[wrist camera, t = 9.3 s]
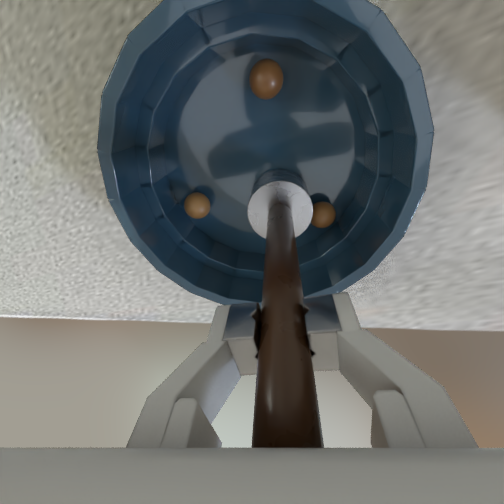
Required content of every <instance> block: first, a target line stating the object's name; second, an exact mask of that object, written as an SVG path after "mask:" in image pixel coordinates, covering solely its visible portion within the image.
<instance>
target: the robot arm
mask: <svg viewBox="0 0 504 504" xmlns="http://www.w3.org/2000/svg"><path fill="white" fill-rule="evenodd" d="M302 299H303V307H304V314H305V322H306V329H307V337H308V344H309V349H311V356H312V363H313V371H331V370H340V372H341V374H342V375H343V376H344V377H345V378H346V379H347V380H348V382H349V383H350V384H351V385H352V386H353V387H354V389H355V390H356V391H357V392H358V393H359V395H360V396H361V397H362V398H363V399H364V400H365V402H366V403H367V404H368V405H369V406H370V407H371V409H372V427H371V445H372V448H221V445H222V442H221V441H220V439H219V437H218V436H217V434H216V432H215V431H214V429H213V427H212V426H211V423H212V421H213V420H214V419H215V417H216V415H217V414H218V412H219V411H220V409H221V408H222V406H223V405H224V403H225V401H226V400H227V398H228V397H229V395H230V394H231V392H232V390H233V389H234V387H235V386H236V384H237V382H238V381H239V380H240V378H241V376H242V375H253V374H257V363H258V348H259V335H260V320H261V308H260V305H259V303H258V302H254V303H242V304H231V305H221V306H218V307H217V308H216V310H215V314H214V317H213V321H212V324H211V328H210V332H209V335H208V338H207V342H203V343H201V345H199V346H198V347H197V348H196V349H195V351H194V352H193V353H192V354H190V356H188V358H187V359H186V360H185V361H184V362H183V363H182V364H181V365H180V366H179V367H178V368H177V369H176V370H175V371H174V372H173V373H172V374H171V375H170V376H169V377H168V378H167V379H166V380H165V381H164V382H163V383H162V384H161V385H160V386H159V387H158V388H157V389H156V390H155V391H154V392H153V393H152V394H151V395H150V396H149V397H148V398H147V400H146V402H145V405H144V407H143V409H142V411H141V414H140V416H139V418H138V420H137V423H136V425H135V427H134V430H133V432H132V435H131V437H130V439H129V441H128V444H127V446H126V448H0V504H504V448H479V447H478V445H477V444H476V442H475V440H474V438H473V436H472V435H471V433H470V431H469V429H468V428H467V426H466V424H465V423H464V421H463V419H462V417H461V416H460V414H459V412H458V410H457V409H456V407H455V406H454V404H453V402H452V400H451V398H450V397H449V395H448V393H447V391H446V390H445V388H444V386H442V385H441V384H439V383H438V382H437V381H436V380H434V379H433V378H432V377H430V376H429V375H428V374H426V373H425V372H423V371H422V370H421V369H419V368H418V367H417V366H415V365H414V364H413V363H411V362H410V361H409V360H407V359H406V358H404V357H403V356H402V355H401V354H399V353H398V352H397V351H395V350H394V349H393V348H391V347H390V346H389V345H387V344H386V343H385V342H383V341H382V340H381V339H379V338H378V337H376V336H375V335H374V334H372V333H371V332H370V331H368V330H367V329H365V330H362V329H361V326H360V323H359V321H358V318H357V315H356V313H355V310H354V307H353V305H352V302H351V299H350V296H349V294H348V293H347V292H342V293H334V294H332V295H331V294H327V295H318V296H310V297H302Z"/></svg>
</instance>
